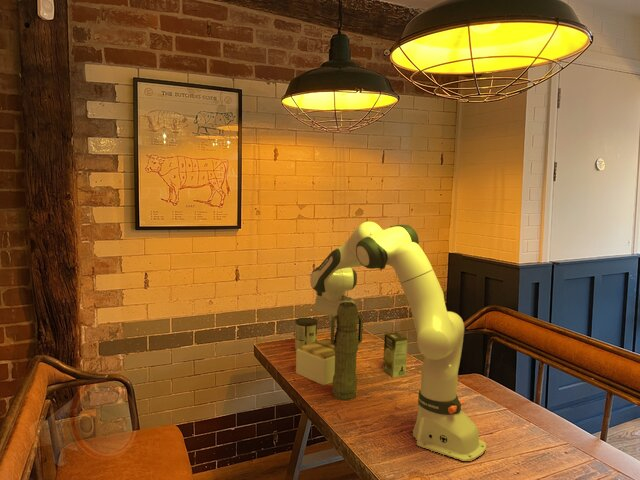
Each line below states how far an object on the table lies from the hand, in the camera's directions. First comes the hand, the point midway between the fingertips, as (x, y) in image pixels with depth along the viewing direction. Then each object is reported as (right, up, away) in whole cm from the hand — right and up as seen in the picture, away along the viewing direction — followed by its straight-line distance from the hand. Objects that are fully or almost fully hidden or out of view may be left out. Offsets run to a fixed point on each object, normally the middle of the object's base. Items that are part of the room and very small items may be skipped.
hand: (334, 325), depth 207 cm
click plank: (0, -9, -2) cm, 9 cm away
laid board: (-6, -9, -8) cm, 14 cm away
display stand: (-4, -19, -4) cm, 20 cm away
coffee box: (+25, -20, -2) cm, 32 cm away
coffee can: (-13, -15, +22) cm, 30 cm away
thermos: (+3, -22, -24) cm, 33 cm away
